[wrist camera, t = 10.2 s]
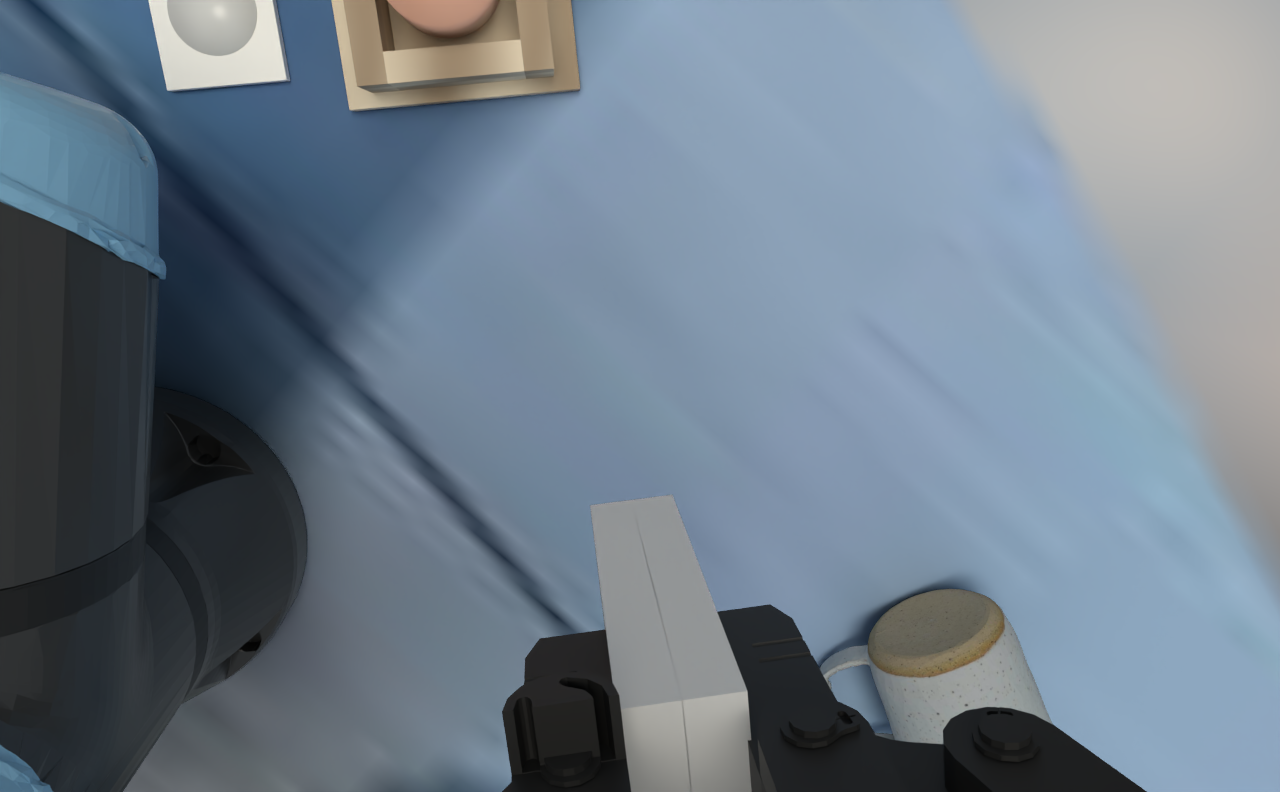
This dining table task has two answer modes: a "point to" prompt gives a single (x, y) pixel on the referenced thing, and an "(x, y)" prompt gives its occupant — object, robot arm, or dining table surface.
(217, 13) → the pattern card
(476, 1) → the button
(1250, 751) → the dining table surface
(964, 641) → the ceramic mug
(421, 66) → the button panel
